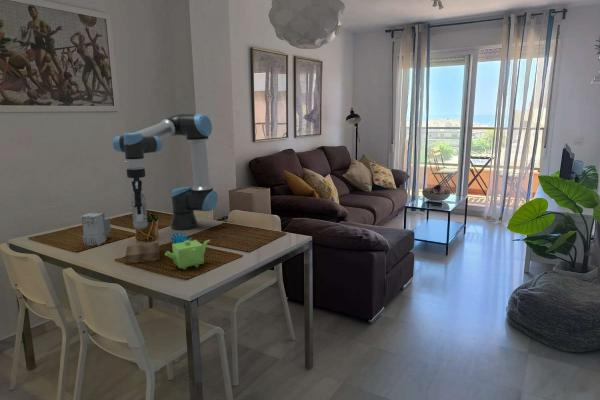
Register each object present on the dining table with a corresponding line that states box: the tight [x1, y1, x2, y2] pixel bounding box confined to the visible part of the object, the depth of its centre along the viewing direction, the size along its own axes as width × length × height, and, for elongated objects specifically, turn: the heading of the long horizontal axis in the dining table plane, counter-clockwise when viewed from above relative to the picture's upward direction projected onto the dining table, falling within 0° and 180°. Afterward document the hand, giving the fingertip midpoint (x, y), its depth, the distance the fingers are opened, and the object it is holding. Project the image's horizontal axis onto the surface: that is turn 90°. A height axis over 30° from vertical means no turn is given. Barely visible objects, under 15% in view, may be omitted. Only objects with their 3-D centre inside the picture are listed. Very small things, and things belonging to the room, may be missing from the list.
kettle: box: [164, 239, 211, 270], centre depth 176 cm, size 15×14×11 cm
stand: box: [125, 242, 161, 265], centre depth 187 cm, size 14×14×4 cm
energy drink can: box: [130, 193, 149, 230], centre depth 183 cm, size 6×6×15 cm
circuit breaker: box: [80, 212, 112, 246], centre depth 211 cm, size 8×14×15 cm, turn 174°
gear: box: [170, 231, 192, 245], centre depth 201 cm, size 11×6×10 cm
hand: (140, 219), depth 184 cm, fingers closed on energy drink can, 6 cm apart
